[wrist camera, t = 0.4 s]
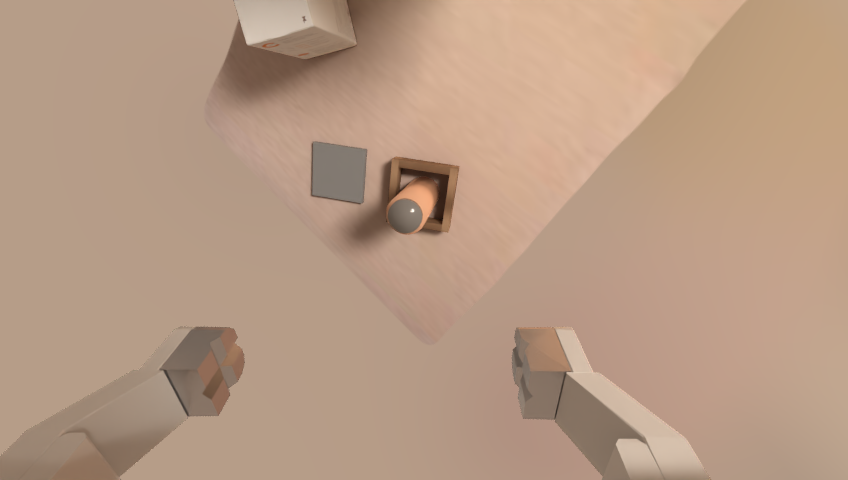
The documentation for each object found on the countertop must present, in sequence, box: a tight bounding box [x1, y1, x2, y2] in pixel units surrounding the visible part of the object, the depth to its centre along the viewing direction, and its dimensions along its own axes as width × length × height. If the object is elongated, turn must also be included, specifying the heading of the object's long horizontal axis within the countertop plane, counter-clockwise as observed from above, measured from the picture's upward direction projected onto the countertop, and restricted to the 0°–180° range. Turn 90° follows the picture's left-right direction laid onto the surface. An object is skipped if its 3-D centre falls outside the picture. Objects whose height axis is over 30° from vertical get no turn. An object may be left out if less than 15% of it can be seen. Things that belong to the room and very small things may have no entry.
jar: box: [386, 176, 440, 234], centre depth 49 cm, size 5×5×13 cm
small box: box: [233, 0, 357, 59], centre depth 44 cm, size 8×6×13 cm
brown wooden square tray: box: [386, 157, 459, 232], centre depth 54 cm, size 9×9×2 cm
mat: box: [312, 142, 367, 203], centre depth 56 cm, size 8×8×1 cm
